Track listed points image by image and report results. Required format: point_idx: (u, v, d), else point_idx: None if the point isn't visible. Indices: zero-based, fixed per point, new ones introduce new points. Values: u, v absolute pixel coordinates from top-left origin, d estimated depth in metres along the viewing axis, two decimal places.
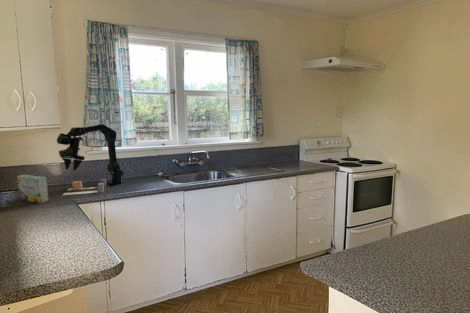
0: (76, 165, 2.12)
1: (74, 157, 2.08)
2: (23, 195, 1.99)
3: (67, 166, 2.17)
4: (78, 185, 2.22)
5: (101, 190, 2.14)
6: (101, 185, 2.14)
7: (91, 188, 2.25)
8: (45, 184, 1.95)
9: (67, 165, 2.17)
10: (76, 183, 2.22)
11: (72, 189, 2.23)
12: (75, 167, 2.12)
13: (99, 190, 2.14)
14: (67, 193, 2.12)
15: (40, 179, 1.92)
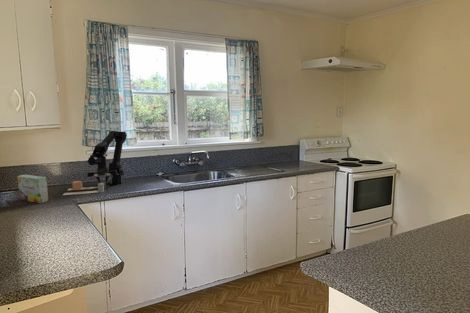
0: None
1: (114, 173, 2.27)
2: (23, 195, 1.99)
3: None
4: (78, 185, 2.22)
5: (101, 190, 2.14)
6: (101, 185, 2.14)
7: (91, 188, 2.25)
8: (45, 184, 1.95)
9: None
10: (76, 183, 2.22)
11: (72, 189, 2.23)
12: None
13: (99, 190, 2.14)
14: (67, 193, 2.12)
15: (40, 179, 1.92)
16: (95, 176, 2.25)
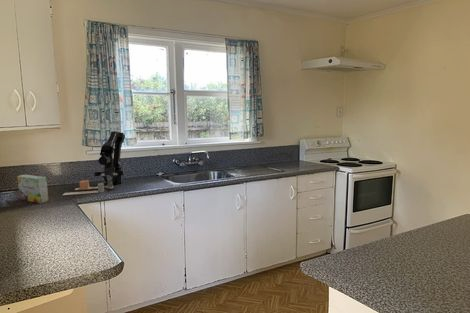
0: (114, 179, 2.30)
1: (120, 173, 2.28)
2: (23, 195, 1.99)
3: None
4: (85, 184, 2.23)
5: (101, 190, 2.14)
6: (101, 185, 2.14)
7: None
8: (45, 184, 1.95)
9: None
10: (83, 183, 2.23)
11: (79, 188, 2.25)
12: (113, 181, 2.30)
13: (99, 190, 2.14)
14: (67, 193, 2.12)
15: (40, 179, 1.92)
16: None
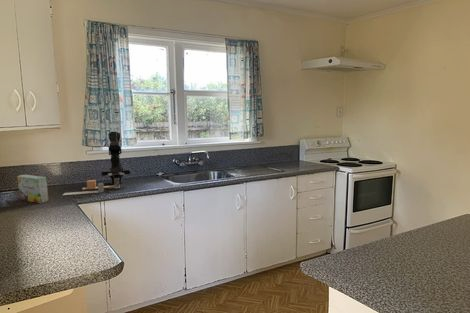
0: (121, 179, 2.32)
1: (127, 172, 2.29)
2: (23, 195, 1.99)
3: None
4: (92, 184, 2.25)
5: (101, 190, 2.14)
6: (101, 185, 2.14)
7: (105, 187, 2.28)
8: (45, 184, 1.95)
9: None
10: (90, 182, 2.24)
11: (86, 188, 2.26)
12: (120, 181, 2.31)
13: (99, 190, 2.14)
14: (67, 193, 2.12)
15: (40, 179, 1.92)
16: (109, 175, 2.27)
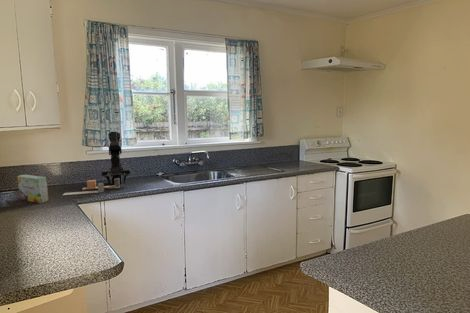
0: (125, 179, 2.32)
1: (127, 172, 2.29)
2: (23, 195, 1.99)
3: None
4: (92, 184, 2.25)
5: (101, 190, 2.14)
6: (101, 185, 2.14)
7: (105, 187, 2.28)
8: (45, 184, 1.95)
9: None
10: (90, 182, 2.24)
11: (86, 188, 2.26)
12: None
13: (99, 190, 2.14)
14: (67, 193, 2.12)
15: (40, 179, 1.92)
16: None
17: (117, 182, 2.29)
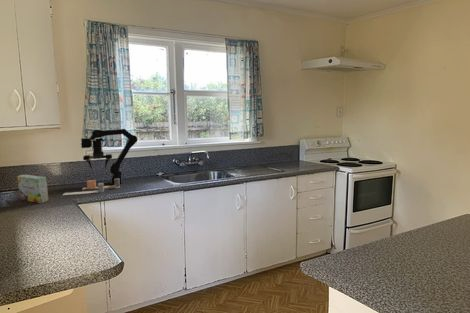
0: None
1: (109, 157, 2.36)
2: (23, 195, 1.99)
3: (91, 166, 2.36)
4: (92, 184, 2.25)
5: (101, 190, 2.14)
6: (101, 185, 2.14)
7: (105, 187, 2.28)
8: (45, 184, 1.94)
9: (91, 165, 2.36)
10: (90, 182, 2.24)
11: (86, 188, 2.26)
12: (106, 165, 2.39)
13: (99, 190, 2.14)
14: (67, 193, 2.12)
15: (40, 179, 1.92)
16: None
17: (117, 182, 2.29)
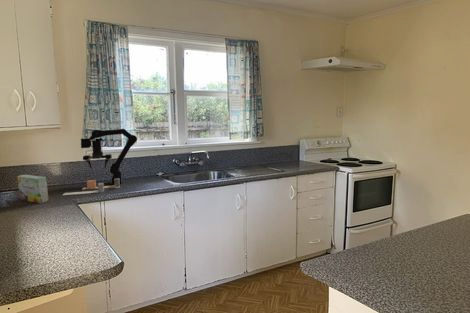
0: (106, 163, 2.39)
1: (108, 157, 2.36)
2: (23, 195, 1.99)
3: (91, 166, 2.37)
4: (92, 184, 2.25)
5: (101, 190, 2.14)
6: (101, 185, 2.14)
7: (105, 187, 2.28)
8: (45, 184, 1.95)
9: (91, 165, 2.37)
10: (90, 182, 2.24)
11: (86, 188, 2.26)
12: (106, 165, 2.39)
13: (99, 190, 2.14)
14: (67, 193, 2.12)
15: (40, 179, 1.92)
16: None
17: (117, 182, 2.29)
